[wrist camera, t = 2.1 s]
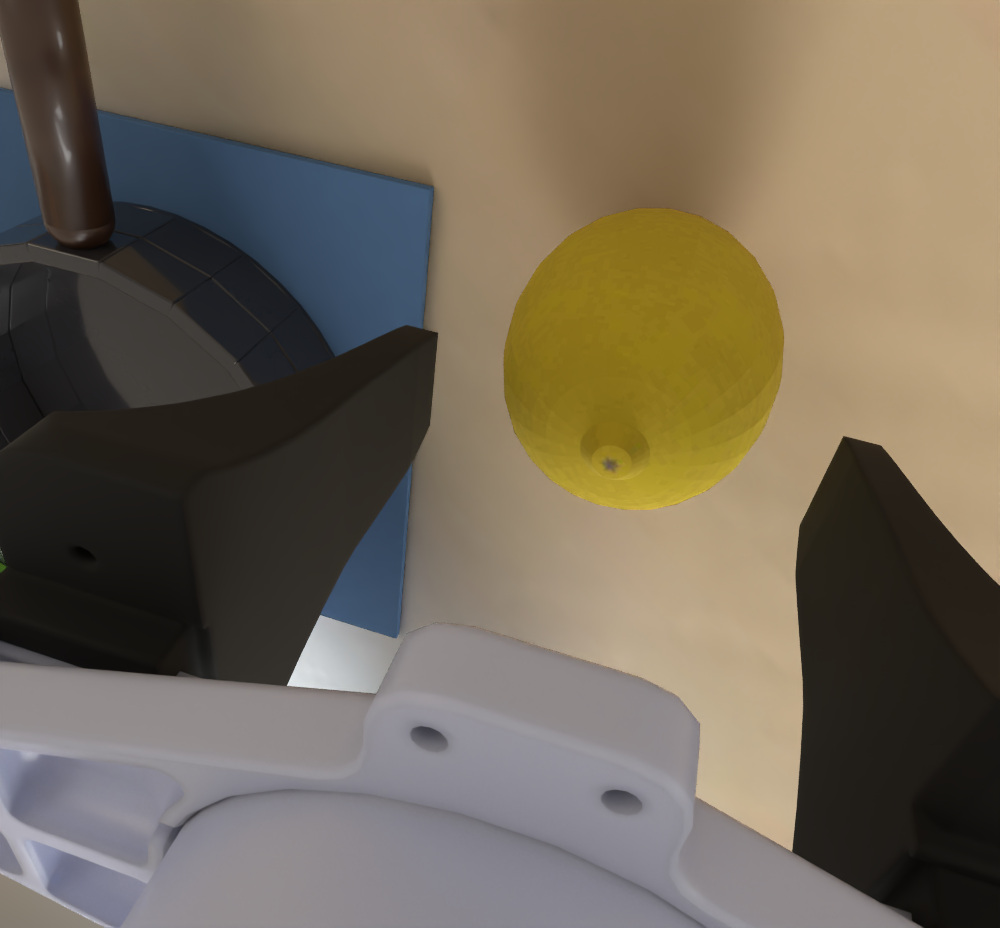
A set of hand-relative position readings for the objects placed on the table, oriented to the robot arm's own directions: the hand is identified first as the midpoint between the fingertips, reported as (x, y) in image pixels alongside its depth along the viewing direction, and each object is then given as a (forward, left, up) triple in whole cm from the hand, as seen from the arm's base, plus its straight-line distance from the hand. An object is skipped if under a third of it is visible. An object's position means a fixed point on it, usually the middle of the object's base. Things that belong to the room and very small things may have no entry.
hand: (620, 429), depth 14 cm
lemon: (0, 0, -7) cm, 7 cm away
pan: (-8, +14, -7) cm, 17 cm away
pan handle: (+3, +14, -5) cm, 15 cm away
